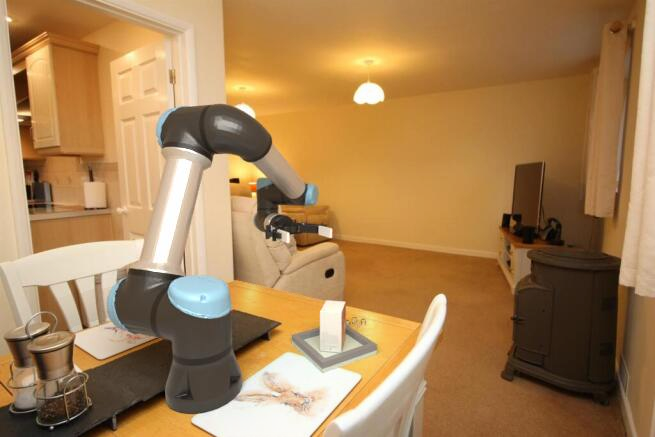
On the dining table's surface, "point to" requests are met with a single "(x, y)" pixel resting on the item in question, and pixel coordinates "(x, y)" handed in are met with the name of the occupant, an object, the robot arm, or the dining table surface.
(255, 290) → the dining table surface
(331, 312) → the small box
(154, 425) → the dining table surface
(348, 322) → the dice set
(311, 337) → the tray
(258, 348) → the dining table surface
